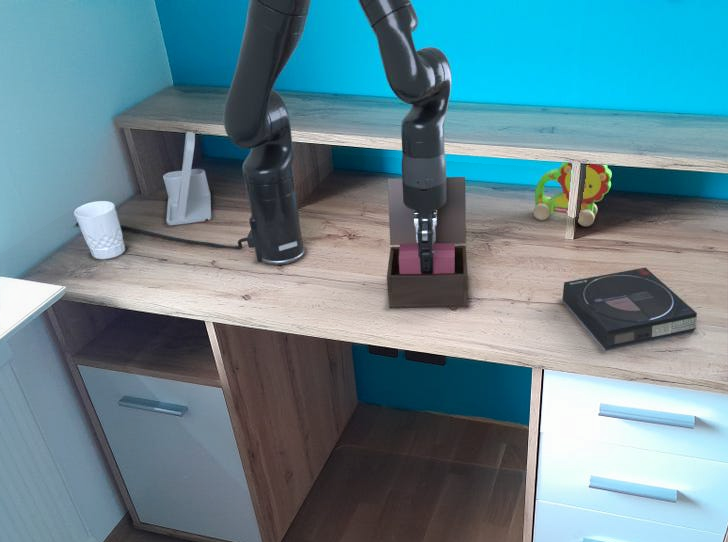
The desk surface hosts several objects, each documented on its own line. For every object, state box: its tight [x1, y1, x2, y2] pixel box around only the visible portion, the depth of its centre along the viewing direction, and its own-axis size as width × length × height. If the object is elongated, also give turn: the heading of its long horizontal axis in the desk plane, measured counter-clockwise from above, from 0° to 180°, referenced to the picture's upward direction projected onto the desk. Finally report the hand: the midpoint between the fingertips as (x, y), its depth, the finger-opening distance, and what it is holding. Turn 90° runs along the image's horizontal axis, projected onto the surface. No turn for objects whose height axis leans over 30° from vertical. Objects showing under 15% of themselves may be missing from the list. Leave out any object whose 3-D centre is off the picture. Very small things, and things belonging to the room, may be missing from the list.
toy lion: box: [533, 162, 613, 227], centre depth 150 cm, size 16×5×15 cm, turn 69°
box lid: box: [387, 176, 467, 246], centre depth 130 cm, size 12×14×1 cm
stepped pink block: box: [398, 243, 456, 274], centre depth 126 cm, size 10×5×4 cm, turn 89°
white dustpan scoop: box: [162, 132, 212, 226], centre depth 160 cm, size 17×10×18 cm, turn 15°
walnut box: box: [386, 245, 469, 310], centre depth 129 cm, size 11×14×7 cm
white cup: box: [73, 200, 126, 260], centre depth 145 cm, size 8×8×10 cm
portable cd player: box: [561, 267, 698, 352], centre depth 121 cm, size 16×17×4 cm
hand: (427, 265), depth 127 cm, fingers closed on stepped pink block, 5 cm apart
